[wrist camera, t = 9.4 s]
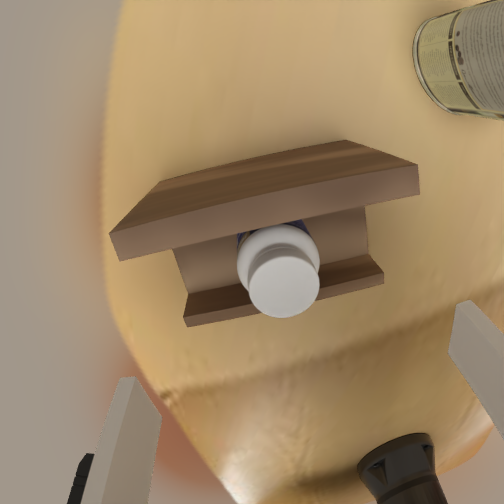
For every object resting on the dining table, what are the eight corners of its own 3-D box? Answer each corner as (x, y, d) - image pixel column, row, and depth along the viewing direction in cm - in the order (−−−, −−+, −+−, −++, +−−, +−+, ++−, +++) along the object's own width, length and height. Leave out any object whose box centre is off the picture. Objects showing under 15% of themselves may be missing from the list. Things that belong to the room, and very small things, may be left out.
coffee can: (451, 1, 19) (551, -26, 6) (503, 84, 23) (605, 97, 10) (390, 45, 22) (498, 16, 9) (451, 135, 25) (562, 168, 12)
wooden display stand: (359, 252, 30) (416, 328, 19) (194, 288, 31) (177, 381, 20) (346, 139, 25) (417, 164, 15) (159, 181, 26) (108, 233, 15)
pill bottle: (232, 203, 25) (230, 249, 17) (300, 195, 25) (331, 238, 17) (240, 265, 27) (243, 332, 19) (304, 257, 27) (330, 320, 19)
